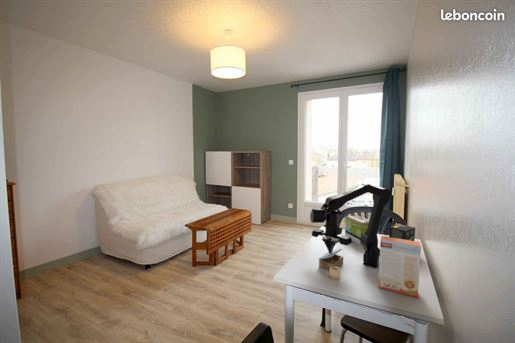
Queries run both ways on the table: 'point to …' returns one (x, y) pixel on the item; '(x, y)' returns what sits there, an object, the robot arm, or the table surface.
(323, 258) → the lid
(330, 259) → the walnut box
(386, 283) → the cracker box
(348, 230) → the tea box
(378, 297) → the table surface
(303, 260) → the table surface
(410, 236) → the tampon box
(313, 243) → the table surface
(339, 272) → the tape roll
